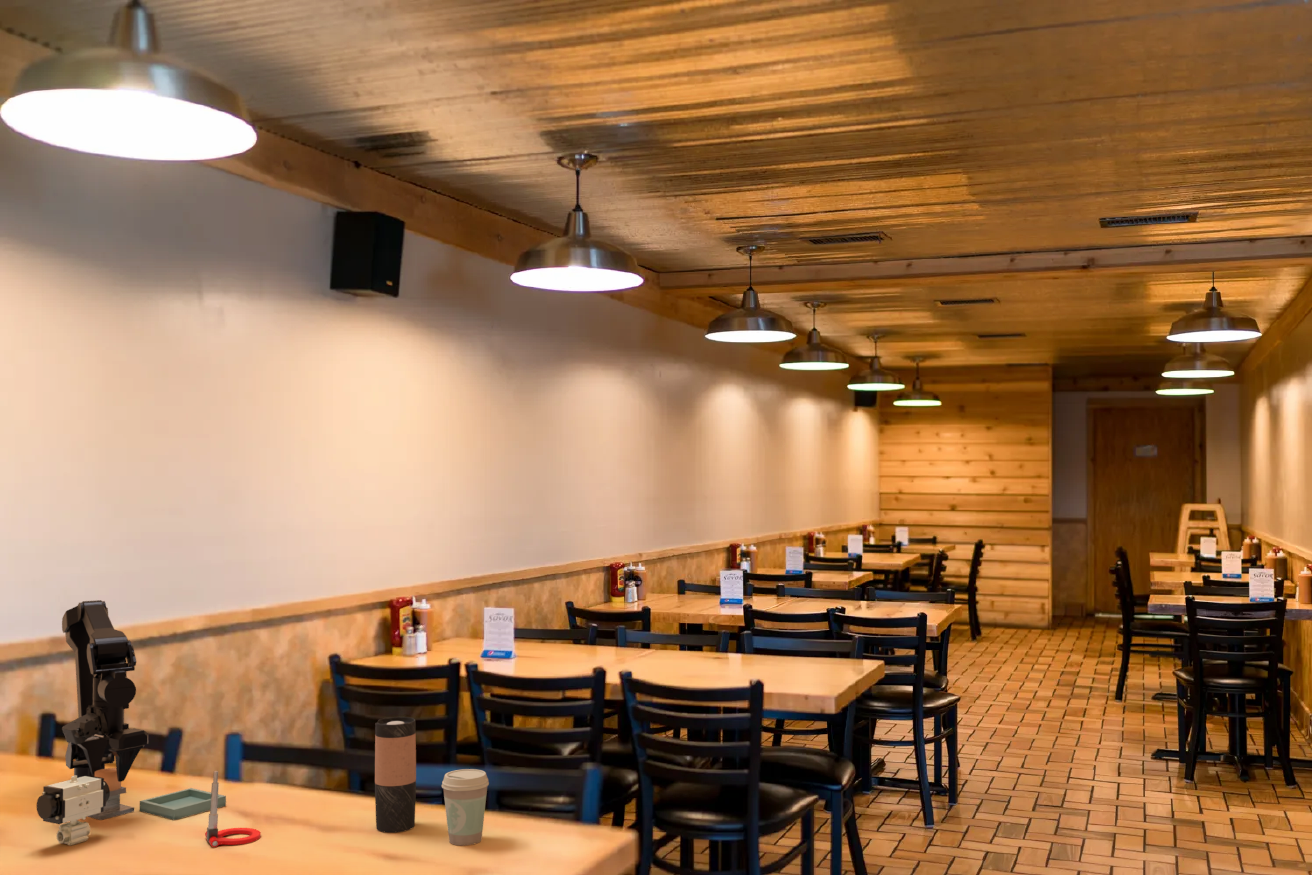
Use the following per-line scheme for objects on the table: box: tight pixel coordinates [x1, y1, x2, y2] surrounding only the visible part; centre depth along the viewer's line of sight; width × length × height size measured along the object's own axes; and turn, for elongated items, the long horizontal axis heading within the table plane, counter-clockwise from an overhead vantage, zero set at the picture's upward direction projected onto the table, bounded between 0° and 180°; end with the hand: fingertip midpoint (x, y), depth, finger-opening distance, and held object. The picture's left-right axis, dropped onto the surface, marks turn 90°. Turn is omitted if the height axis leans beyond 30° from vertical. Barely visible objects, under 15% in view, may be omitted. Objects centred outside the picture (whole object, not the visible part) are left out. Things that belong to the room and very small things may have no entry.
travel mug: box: [374, 716, 417, 834], centre depth 218 cm, size 8×8×20 cm
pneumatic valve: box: [36, 775, 110, 846], centre depth 210 cm, size 6×12×12 cm, turn 152°
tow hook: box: [204, 770, 261, 848], centre depth 211 cm, size 8×13×9 cm
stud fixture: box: [87, 794, 135, 821], centre depth 228 cm, size 7×7×4 cm
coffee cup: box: [441, 768, 490, 846], centre depth 209 cm, size 8×9×12 cm
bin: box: [139, 787, 227, 821], centre depth 231 cm, size 12×12×2 cm
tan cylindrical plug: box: [95, 767, 127, 797], centre depth 229 cm, size 5×5×4 cm
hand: (107, 777), depth 229 cm, fingers open, 9 cm apart
